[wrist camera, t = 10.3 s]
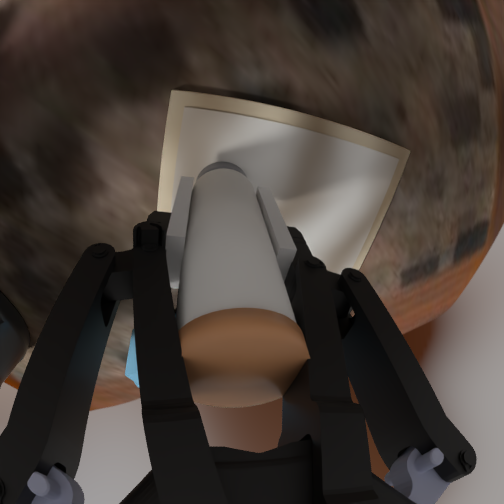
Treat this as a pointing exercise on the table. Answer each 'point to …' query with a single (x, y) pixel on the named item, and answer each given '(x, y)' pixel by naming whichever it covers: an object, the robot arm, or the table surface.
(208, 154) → the sketch pad
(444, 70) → the table surface
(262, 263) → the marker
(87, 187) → the table surface
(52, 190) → the table surface
